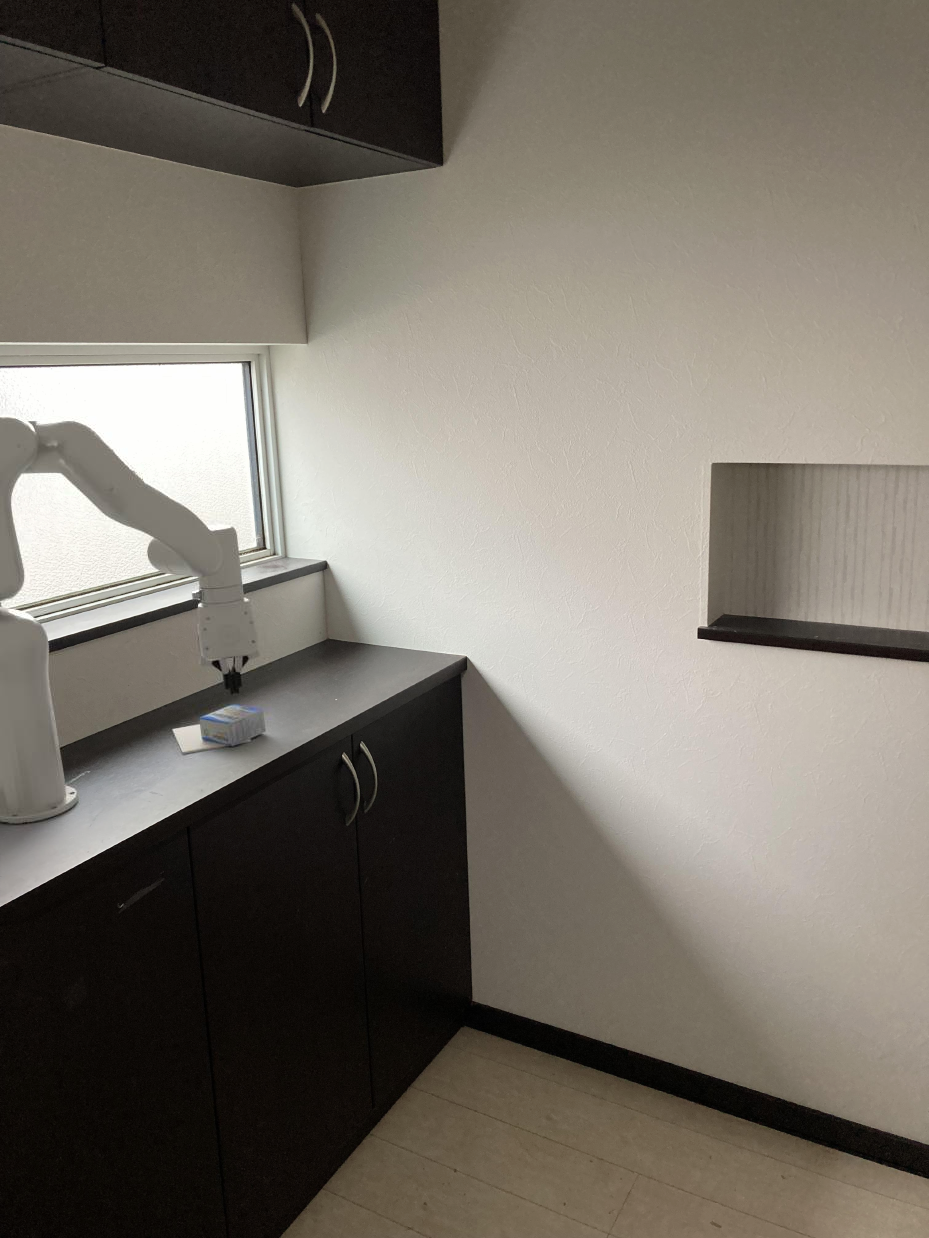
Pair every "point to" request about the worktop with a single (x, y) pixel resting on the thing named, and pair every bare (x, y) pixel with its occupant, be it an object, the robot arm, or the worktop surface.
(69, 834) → the worktop surface
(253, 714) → the medicine box
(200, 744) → the mat
